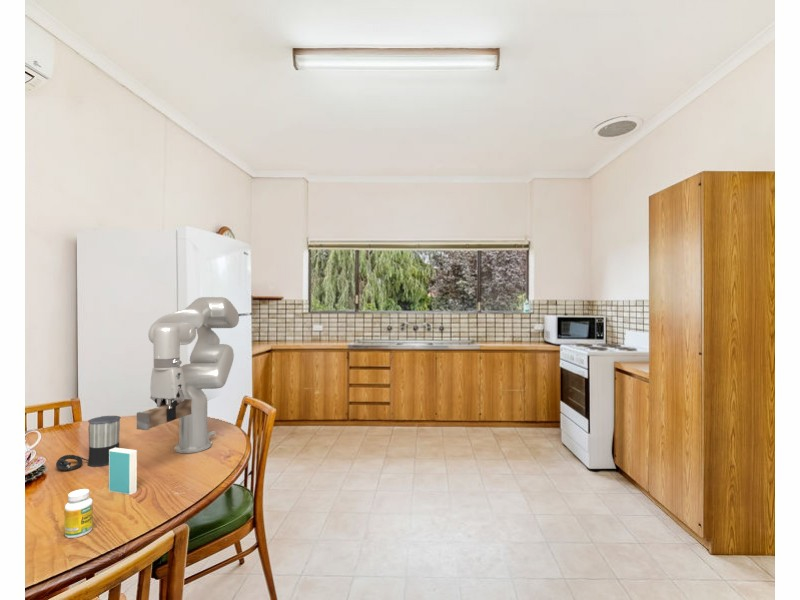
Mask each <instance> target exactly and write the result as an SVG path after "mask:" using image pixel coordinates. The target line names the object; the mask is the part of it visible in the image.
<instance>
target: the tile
mask: <svg viewBox="0 0 800 600" xmlns="http://www.w3.org/2000/svg"><path fill="white" fill-rule="evenodd" d="M137 456H138V450H137V449H130V448H129V449H128V448H123V447H122V448H121V447H119V448H113V449H110V450H109V465H108V492H111V493H117V494H123V495H133V494H135V493H137V490H138V489H137V485H138V484H137V483H138V482H137V481H138V478H137V477H138V476H137V473H138V472H137V471H138V469H137V468H138V460H137V459H138V457H137Z"/></svg>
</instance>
